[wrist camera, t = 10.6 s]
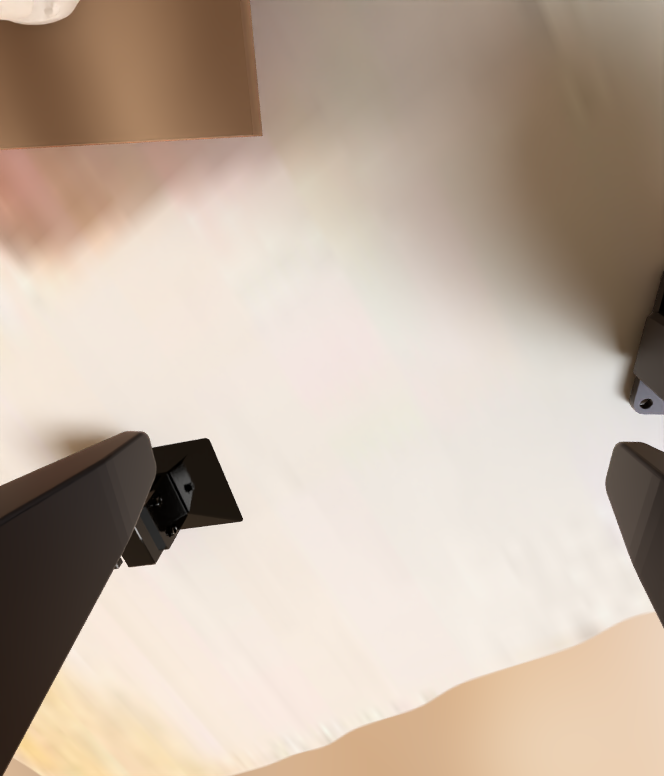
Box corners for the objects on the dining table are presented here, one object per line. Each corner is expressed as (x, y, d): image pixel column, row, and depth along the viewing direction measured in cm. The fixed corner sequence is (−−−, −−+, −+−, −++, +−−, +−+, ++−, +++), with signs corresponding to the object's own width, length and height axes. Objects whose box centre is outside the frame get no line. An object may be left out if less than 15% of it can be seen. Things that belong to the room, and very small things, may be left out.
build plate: (88, 545, 30) (39, 608, 26) (28, 449, 27) (-37, 502, 23) (274, 521, 27) (253, 586, 23) (230, 411, 24) (198, 464, 20)
